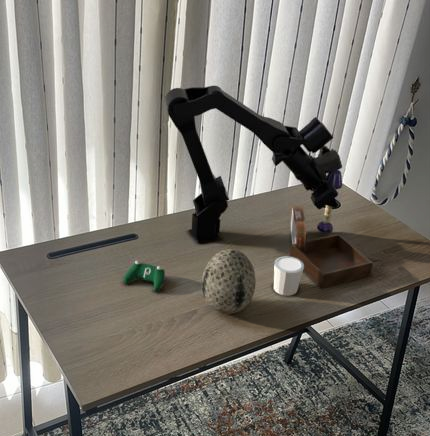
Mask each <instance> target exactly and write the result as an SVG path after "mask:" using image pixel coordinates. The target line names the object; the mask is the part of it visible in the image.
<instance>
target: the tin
mask: <svg viewBox="0 0 430 436" xmlns="http://www.w3.org/2000/svg"><path fill="white" fill-rule="evenodd" d="M290 236H291V245H292V244H294V243H296V246H297V247H298V248H299V249H300V250H301V251H303V252H304V250H305V243H306V241H307V225H306V218H305V211H304V207H303V205H292V207H291V219H290Z"/></svg>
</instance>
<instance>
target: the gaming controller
mask: <svg viewBox="0 0 430 436" xmlns="http://www.w3.org/2000/svg"><path fill="white" fill-rule="evenodd" d="M165 276H166V272H165V268H164V267H163V266H160V265H152V264H148V263H144V262H143V263H142V262H141V261H139V260H135V261H134V263H133V264H131V266H130V268H129V269H128V270H127V271H126V273H125V274H124V276H123V280H122V282H123V283H124V284H126V285H129V284H131V283H132V282H133V281H134V280H136V279H138V280H144V281H147V282H150V283H153V290H154V292H156V293H158V292H160V291H161V290H162V287H163V284H164V281H165Z"/></svg>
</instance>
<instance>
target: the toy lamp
mask: <svg viewBox="0 0 430 436" xmlns="http://www.w3.org/2000/svg"><path fill="white" fill-rule="evenodd" d="M326 176H327V177H326V179H325V181H327V182H331V183H332V184H333V186H334V187H335V189H336V190H340V189H342V187H343V176H342V171H341V169H339V170H335V171H332V172H330V173H327V174H326ZM332 208H333V207H331V206H328V205H325V207H324V214H323V221H320V222H319V223H318V224H317V226H316V229H317V231H319V232H320V233H324V234H328V233H329V234H330V233H332V232H333V231H334V226H333V224H332V223H331V222H330V221H331V216H332V210H333V209H332Z"/></svg>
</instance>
